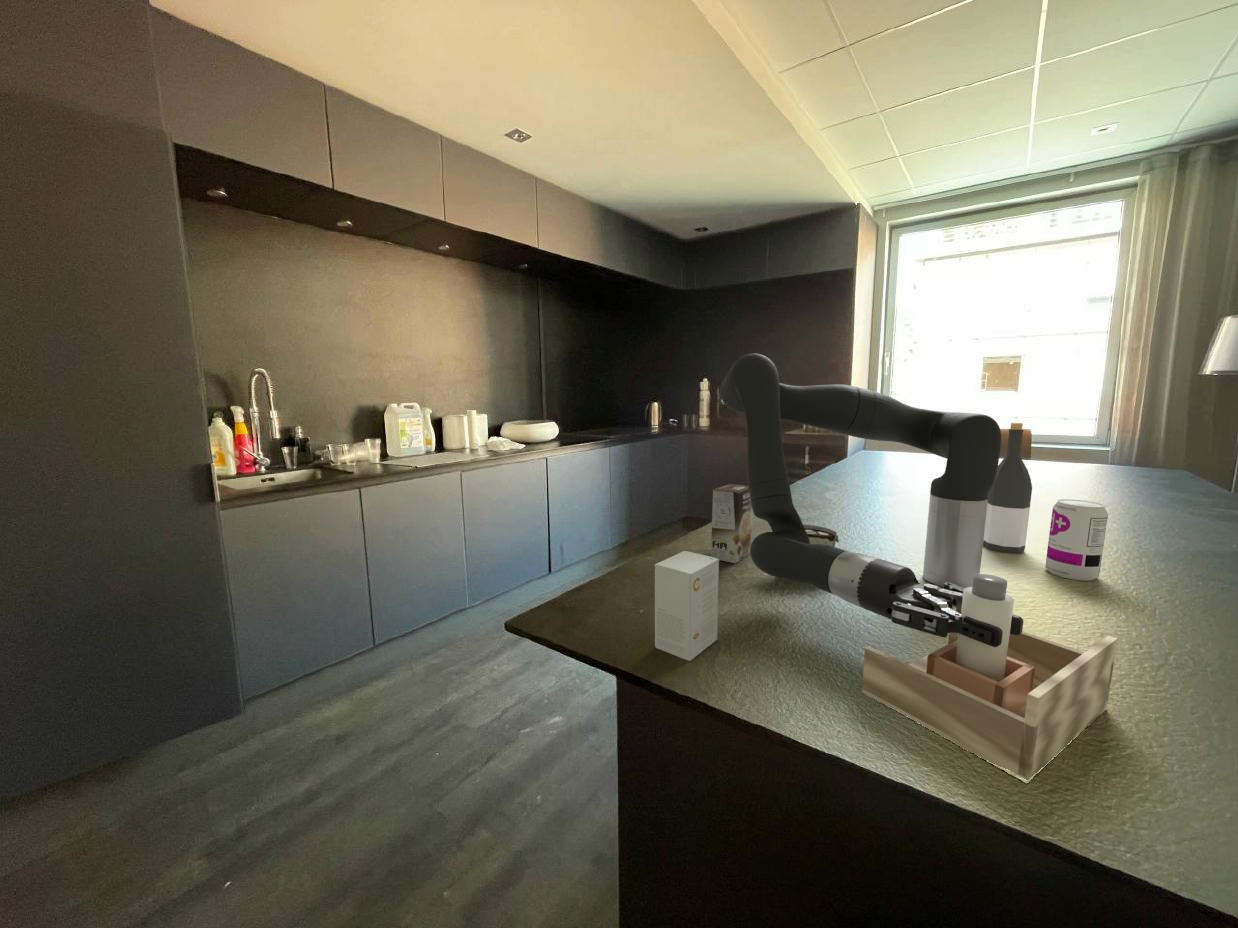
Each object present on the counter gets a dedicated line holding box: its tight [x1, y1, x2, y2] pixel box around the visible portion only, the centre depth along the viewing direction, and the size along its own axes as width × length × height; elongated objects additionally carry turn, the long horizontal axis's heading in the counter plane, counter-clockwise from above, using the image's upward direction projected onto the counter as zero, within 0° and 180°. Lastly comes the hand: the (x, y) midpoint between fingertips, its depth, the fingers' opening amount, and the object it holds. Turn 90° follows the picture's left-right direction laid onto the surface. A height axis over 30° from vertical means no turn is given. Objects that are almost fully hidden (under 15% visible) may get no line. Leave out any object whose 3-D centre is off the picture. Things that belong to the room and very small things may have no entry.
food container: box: [779, 523, 840, 580], centre depth 101 cm, size 12×6×10 cm, turn 84°
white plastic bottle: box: [955, 573, 1015, 682], centre depth 59 cm, size 5×5×14 cm
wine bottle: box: [983, 422, 1033, 555], centre depth 115 cm, size 8×8×30 cm
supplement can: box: [1044, 498, 1109, 582], centre depth 100 cm, size 8×8×15 cm
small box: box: [654, 550, 720, 662], centre depth 73 cm, size 8×6×13 cm
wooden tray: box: [861, 607, 1118, 780], centre depth 59 cm, size 22×17×9 cm
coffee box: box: [710, 483, 754, 564], centre depth 112 cm, size 9×6×16 cm
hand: (1010, 632), depth 57 cm, fingers closed on white plastic bottle, 4 cm apart
